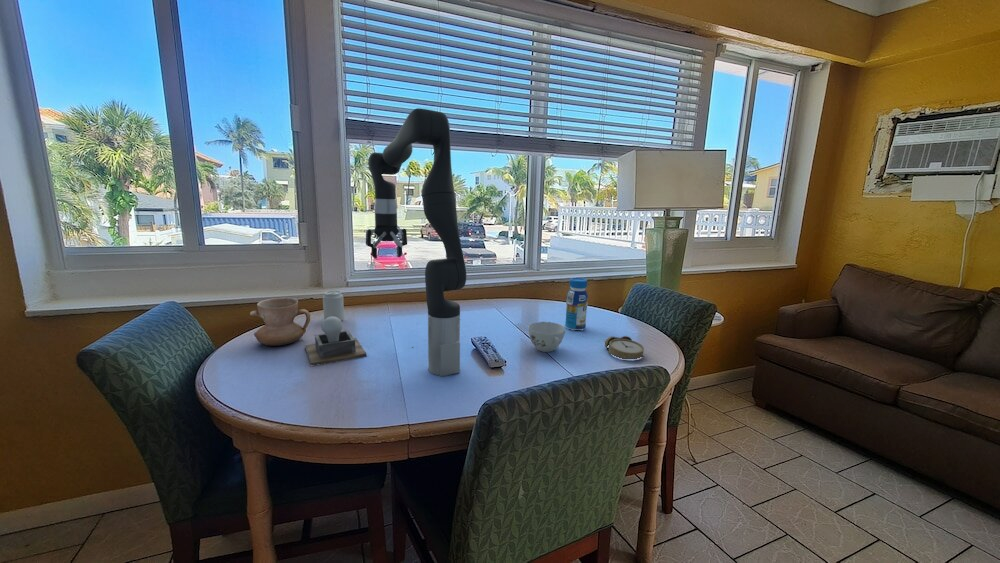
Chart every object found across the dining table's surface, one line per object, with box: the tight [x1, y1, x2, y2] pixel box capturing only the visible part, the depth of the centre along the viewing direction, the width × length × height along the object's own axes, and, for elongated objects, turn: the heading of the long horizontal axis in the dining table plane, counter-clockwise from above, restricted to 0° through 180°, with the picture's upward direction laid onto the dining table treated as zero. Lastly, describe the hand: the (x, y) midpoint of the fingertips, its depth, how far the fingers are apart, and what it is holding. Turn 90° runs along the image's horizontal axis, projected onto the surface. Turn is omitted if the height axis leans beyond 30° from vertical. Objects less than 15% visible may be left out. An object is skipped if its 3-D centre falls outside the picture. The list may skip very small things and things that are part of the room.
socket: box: [305, 330, 367, 366], centre depth 129 cm, size 16×16×5 cm
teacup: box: [527, 321, 566, 353], centre depth 136 cm, size 15×12×8 cm
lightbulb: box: [321, 316, 343, 343], centre depth 128 cm, size 6×6×11 cm
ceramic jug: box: [249, 297, 311, 347], centre depth 136 cm, size 18×14×14 cm
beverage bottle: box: [564, 277, 589, 331], centre depth 159 cm, size 8×8×20 cm
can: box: [322, 290, 345, 322], centre depth 160 cm, size 8×8×12 cm
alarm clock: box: [604, 335, 646, 359], centre depth 136 cm, size 11×5×15 cm
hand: (387, 257), depth 145 cm, fingers open, 8 cm apart
